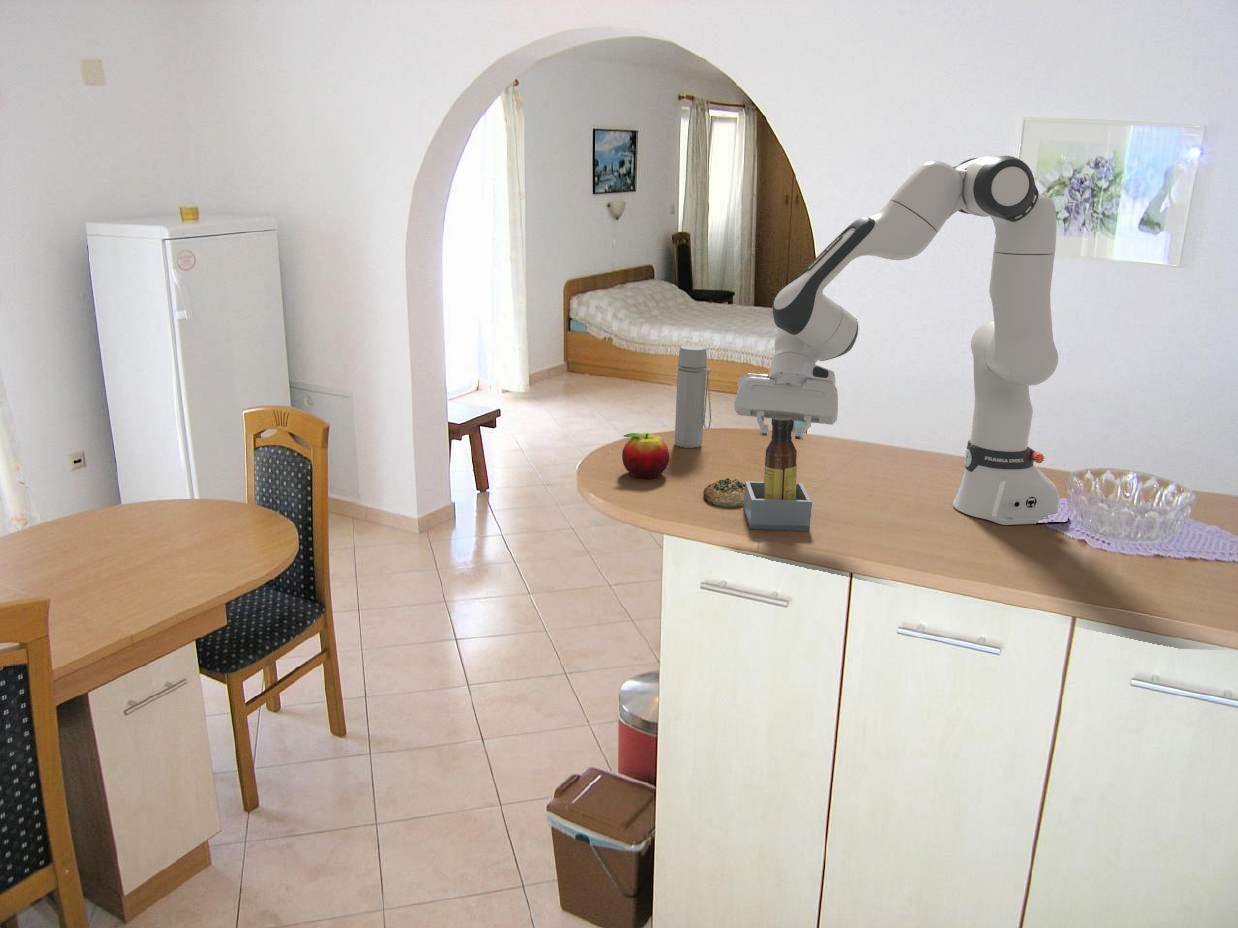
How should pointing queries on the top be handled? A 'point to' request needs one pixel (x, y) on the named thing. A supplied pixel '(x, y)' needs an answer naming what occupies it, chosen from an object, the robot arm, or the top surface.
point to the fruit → (645, 455)
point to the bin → (776, 509)
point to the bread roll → (725, 493)
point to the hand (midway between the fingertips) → (781, 436)
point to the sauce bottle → (780, 462)
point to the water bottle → (691, 396)
